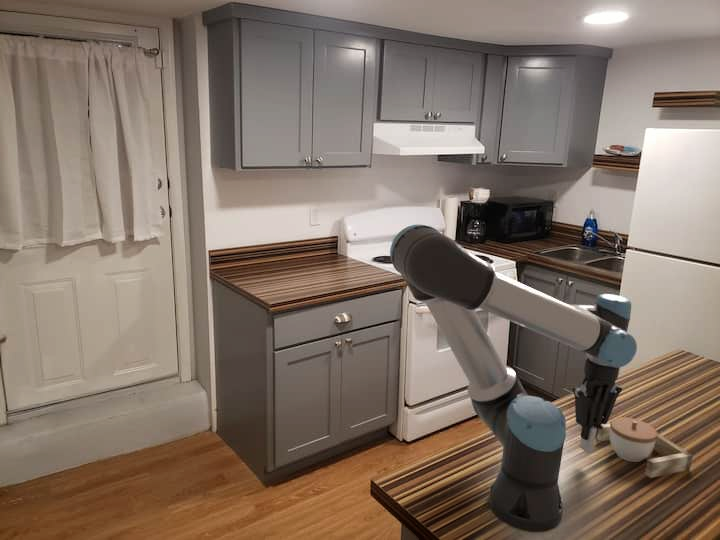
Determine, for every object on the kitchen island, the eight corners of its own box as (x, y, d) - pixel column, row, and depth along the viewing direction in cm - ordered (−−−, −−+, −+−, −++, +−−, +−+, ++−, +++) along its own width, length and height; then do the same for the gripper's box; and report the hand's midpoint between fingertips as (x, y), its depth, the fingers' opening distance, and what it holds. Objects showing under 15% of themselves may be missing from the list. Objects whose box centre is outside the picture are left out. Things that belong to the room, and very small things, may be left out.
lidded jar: (658, 470, 137) (665, 435, 135) (612, 464, 139) (618, 429, 136) (644, 446, 147) (650, 414, 145) (601, 441, 149) (607, 409, 146)
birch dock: (650, 477, 134) (653, 463, 133) (596, 438, 150) (598, 425, 149) (689, 469, 138) (692, 455, 137) (632, 432, 154) (635, 419, 153)
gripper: (592, 368, 126) (574, 462, 131) (637, 364, 130) (618, 455, 136) (569, 355, 133) (554, 445, 138) (613, 352, 137) (596, 438, 143)
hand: (586, 450), depth 137 cm, fingers closed
